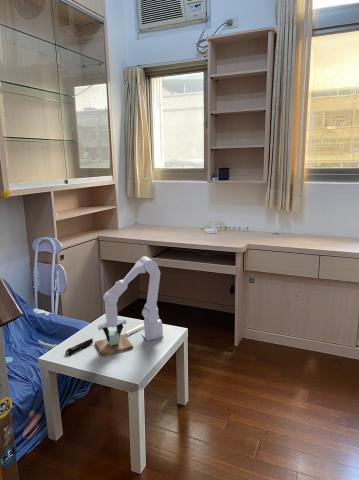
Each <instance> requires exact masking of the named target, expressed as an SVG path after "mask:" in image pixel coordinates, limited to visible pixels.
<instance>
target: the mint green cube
mask: <svg viewBox="0 0 359 480" xmlns="http://www.w3.org/2000/svg"><path fill="white" fill-rule="evenodd" d="M108 343H109V344H110V346H111V345H115V344H119V343H120V337H119V333H118V332H117V329H116V330H112V331H109V342H108Z"/></svg>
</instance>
